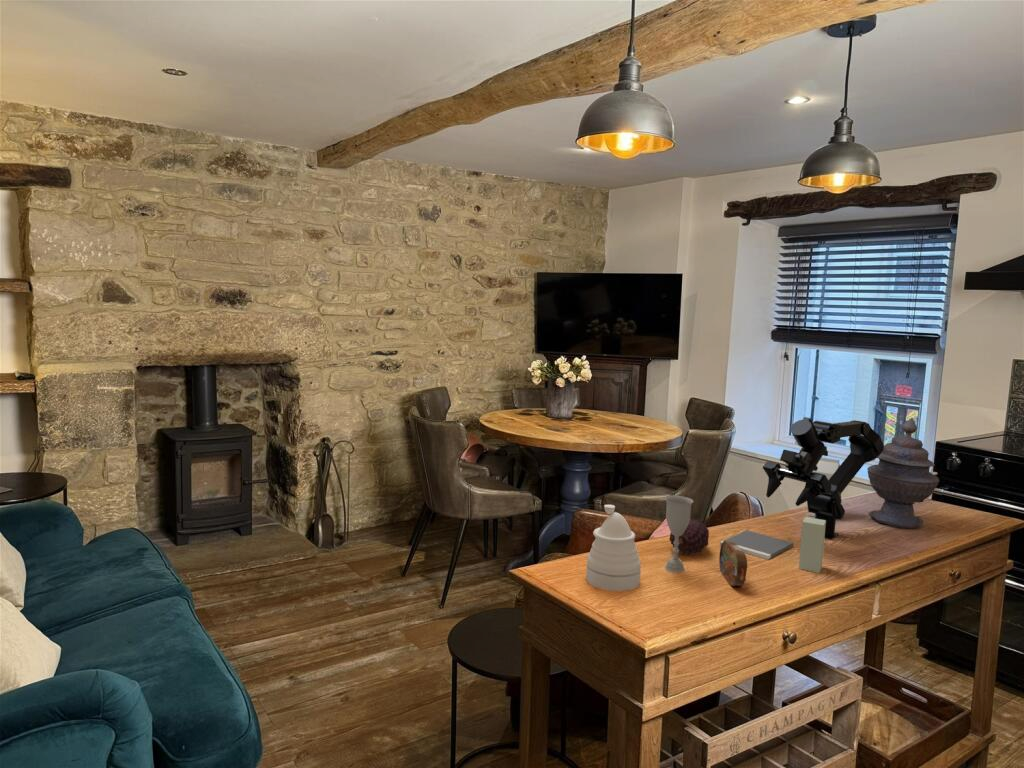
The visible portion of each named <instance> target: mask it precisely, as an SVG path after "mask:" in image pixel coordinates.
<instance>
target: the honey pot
mask: <svg viewBox="0 0 1024 768" xmlns="http://www.w3.org/2000/svg"><path fill="white" fill-rule="evenodd" d="M603 507H604V511H605V513H606V514H608V516H607V517H606V519H605V520H604V521H603V523H602V525H601V526H599V527H596V528H595V529H594V530H593V532H592V534H593V536H594V537H595V539H594V541H593V542H592V544H591V548H590V551H589V554H588V555H587V558H586V559H587V561H586V574H585V579H586V581H587V582H588V584H590V585H591V586H593V587H594V588H597V589H600V590H604V591H609V592H610V591H611V592H612V591H613V592H626V591H631V590H634V589H637V588H638V587H639V586H640V584H641V572H642V571H641V568H642V567H641V564H642V561H641V558H640V557H639V552H638V547H637V545H636V543H635V538H636V533H635V532H634V531H632V529H631V528H630V526H629V523H628V522H627V520H626V519H625V517H624V516H623V515H622V514H621V513H619V512H617V511H615V509H616V506H615V505H614V504H604V506H603Z"/></svg>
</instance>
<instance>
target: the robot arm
mask: <svg viewBox="0 0 1024 768" xmlns="http://www.w3.org/2000/svg"><path fill="white" fill-rule="evenodd" d="M789 429H790V433H791V435H792V436H793V438H794V440H795V441H796V443H797V445H798V446H799V447H801V448H800V450H799V452H797V451H793V450H788V449H783V450H782V452H781V455H780V458H779V460H780V461H781V462H783V463H785V464H784V466H785V467H786V469H787V470H786V469H784V468H782V466H781V465H780V463H778V462H773V461H766V462H765V463H764V465H763V466H762V469H763V471H764V472H765V474H766V475H767V477H768V483H767V488H766V495H765V496H766V497H767V498H770V497H771V496H772V495H773V494H775V492H776V491H777V489H779V487H780V486H781V485H782V482H781V481H784V480H785V478H787V479H791V480H795V481H799V482H802V483H805V484H804V488H803V489H802V491H801V492H800V493H799V495H798V497H797V498H796V500H795V506H797V507H799V506H800V505H802V504H804V503H807V510H808V513H809V512H811V513H815V517H814V518H815V519H821V520H826V526H825V537H824V539H826V540H827V539H828V540H833V539H834V538H837V537H838V536H839V534H840V533H839V532H836V522H837V520H843V518H844V516H845V513H846V510H845V509H844V506H843V505H842V493H843V492H844V490H845V489H846V488H847V487H848V485H850V484H851V482H852V480H853V479H854V478H855V476H856V475H857V474H858V472H860V470H861V469H862V468H863V466H864V465H865V464H867V463H870V462H872V461H875V460H876V459H878V458H877V457H878V456H879V455H880V454H881V453H882V452H883V449H884V446H885V445H884V441H883V440H882V437H881V435H880V434H879V433H878V432H877V431H875V430H874V429H873V428H872V427H871V425H870V423H868V422H866V421H861V420H851V421H843V422H841V421H840V422H836V423H835V422H834V423H832V422H827V421H822V420H820V421H819V420H815V421H813V419H812V418H811V417H806V416H804V417H803V418H802V419H799V420H797V421H795V422H794V423H792V424H791V425H790V428H789ZM847 437H848V441H849V443H850V444H849V449H850V450H849V451H850V453H849V454H848V455H847V456H846V458H845V459H844V460H843V461H842V463H841V464H840V466H839V468H838V469H837V470H836V471H835V473H834V474H833V475H832V476H831V478H830V479H829V480H828V479H827V477H826V475H824V474H820V473H815V472H813V470H814V471H817V469H818V467H817V466H816V465H817V464H818V462H819V461H820V459H821V457H822V458H823V456H824V457H827V456H829V451H828V449H827V445H825V444H824V443H827V444H835V443H838V442H840V441H841V438H847Z"/></svg>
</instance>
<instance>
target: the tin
mask: <svg viewBox="0 0 1024 768" xmlns="http://www.w3.org/2000/svg"><path fill="white" fill-rule="evenodd" d="M723 541H724V540H723ZM718 555H719V558H718V561H719V562H718V563H719V570H720V573H721V574H722V576H723V577H724V579H725V580H726V582H727V583H728V584H729V586H733V587H735V586H736V587H742V586H744V585H745V583H746V578H747V569H748V559H747V556H746V553H744V552H743V551H742V550H741V549H740V548H739V547H738V545H737V544H736V543H734V542H727V541H724V542H723V543H722V545H721V546H720V550H719V554H718Z"/></svg>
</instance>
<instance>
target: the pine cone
mask: <svg viewBox="0 0 1024 768" xmlns="http://www.w3.org/2000/svg"><path fill="white" fill-rule="evenodd" d="M709 536H710V530H709V529H708V526H706V525H705V523H703V522H700V521H699V519H694V518H691V517H690V521H689V524H688V526H687V528H686V530H685V532H684V533H683V535H681V536H679V538H678V540H679V543H680V544H679V545H678V549H679V552H678V553H681V554H686V555H687V556H690V555H693V556H695V555H697V553H701V552H702V550H704V549H705V547H707V546H708V545H709ZM668 540H669V541H670V544H671V545H672V549H674V543H673V542H674V540H675V535H673V534H671V532H670V534H669V538H668Z"/></svg>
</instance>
